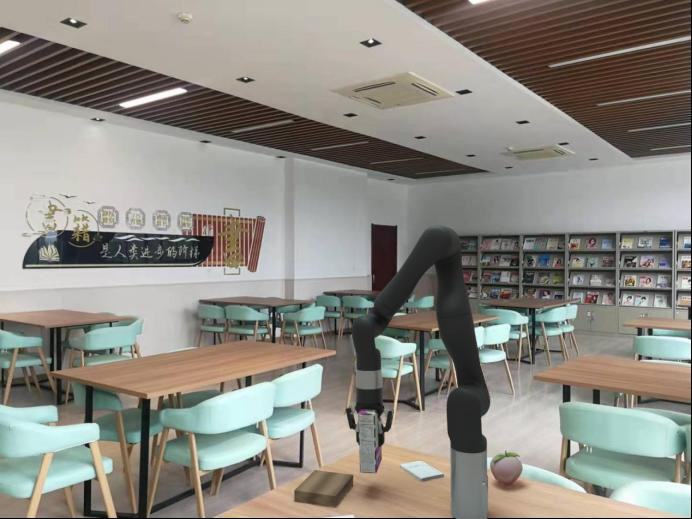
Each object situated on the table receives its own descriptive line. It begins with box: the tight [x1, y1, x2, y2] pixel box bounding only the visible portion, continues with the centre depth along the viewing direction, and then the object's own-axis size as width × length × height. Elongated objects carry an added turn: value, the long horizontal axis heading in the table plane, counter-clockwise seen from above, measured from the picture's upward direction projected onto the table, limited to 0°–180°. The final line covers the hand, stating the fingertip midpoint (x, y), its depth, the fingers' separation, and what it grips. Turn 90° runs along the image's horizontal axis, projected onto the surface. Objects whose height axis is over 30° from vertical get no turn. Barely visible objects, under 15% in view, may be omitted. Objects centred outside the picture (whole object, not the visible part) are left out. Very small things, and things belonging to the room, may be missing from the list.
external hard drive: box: [399, 460, 445, 483], centre depth 167 cm, size 2×8×12 cm
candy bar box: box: [357, 409, 383, 474], centre depth 153 cm, size 11×5×16 cm, turn 169°
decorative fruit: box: [489, 450, 524, 486], centre depth 157 cm, size 9×8×10 cm
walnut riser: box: [293, 469, 354, 508], centre depth 152 cm, size 12×15×3 cm
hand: (370, 444), depth 153 cm, fingers closed on candy bar box, 5 cm apart
